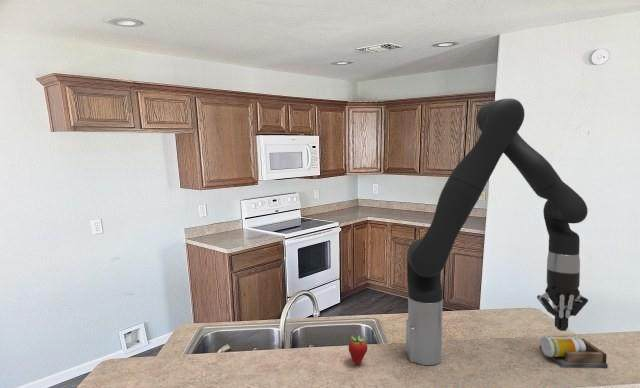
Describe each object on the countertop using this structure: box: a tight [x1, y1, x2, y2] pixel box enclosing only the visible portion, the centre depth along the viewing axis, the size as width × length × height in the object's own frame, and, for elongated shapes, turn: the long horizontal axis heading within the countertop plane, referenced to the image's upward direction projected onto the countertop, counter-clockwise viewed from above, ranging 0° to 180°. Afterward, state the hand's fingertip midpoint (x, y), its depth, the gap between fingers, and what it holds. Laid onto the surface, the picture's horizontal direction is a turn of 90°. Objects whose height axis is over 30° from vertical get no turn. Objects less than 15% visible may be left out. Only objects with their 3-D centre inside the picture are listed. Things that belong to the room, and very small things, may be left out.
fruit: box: [348, 335, 368, 365], centre depth 97 cm, size 5×5×8 cm
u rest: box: [539, 337, 609, 369], centre depth 99 cm, size 12×10×4 cm
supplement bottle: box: [540, 335, 586, 358], centre depth 98 cm, size 5×5×10 cm
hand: (561, 329), depth 99 cm, fingers closed
